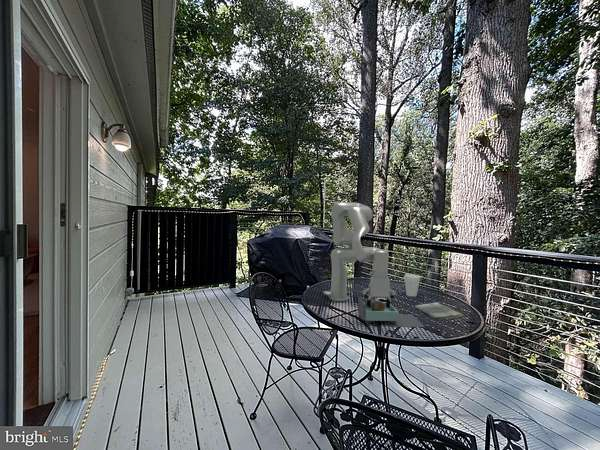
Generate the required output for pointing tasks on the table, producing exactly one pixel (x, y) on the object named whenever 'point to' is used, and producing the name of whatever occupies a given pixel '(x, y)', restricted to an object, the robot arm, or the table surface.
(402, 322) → the dock mat
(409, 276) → the foam cup
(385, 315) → the mint green cubby
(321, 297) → the table surface
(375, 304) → the walnut block
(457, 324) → the table surface
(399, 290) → the table surface
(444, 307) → the dish towel
